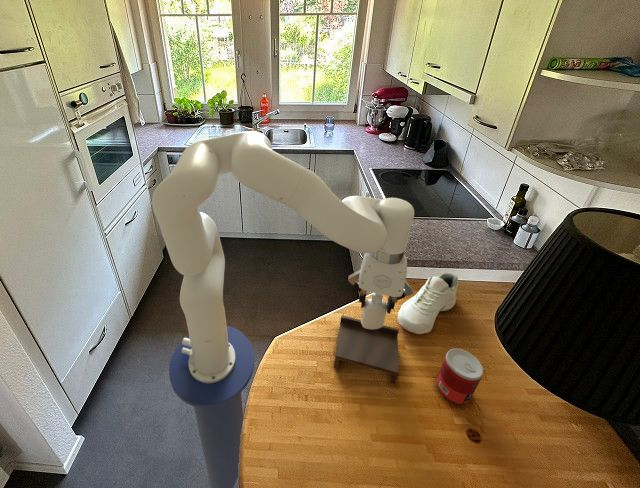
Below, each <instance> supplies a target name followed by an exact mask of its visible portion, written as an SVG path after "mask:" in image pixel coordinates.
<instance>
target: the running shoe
mask: <svg viewBox="0 0 640 488" xmlns="http://www.w3.org/2000/svg"><path fill="white" fill-rule="evenodd" d="M458 284H459V277H458V276H457V275H456V274H453V273H451V272H443V273H442V274H441V275H437V276H429V277H428V278H427V280H426V282H425V284H423V285H422V287H421V288H420V289H419V290H418V291H417V293H416V294H414V295H413V296H411V298H408V299H407V300H406V301H404V303H403V304H402V305H401V306H400V309H399V310H398V313H397V322H398V324H399V325H400V326H401V327H402V328H403V329H404V330H406V331H407V332H410V333H413V334H416V335H423V334H428V333H430V332H431V331H432V330H433V328H434V325H435V321H436V319H437V318H438V317H437V316H438V315H439V313H440V312H445V311H446V312H447V311H450V310H451V309H452V308H453V307H454V306H455V305H456V302H457V291H458Z"/></svg>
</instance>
